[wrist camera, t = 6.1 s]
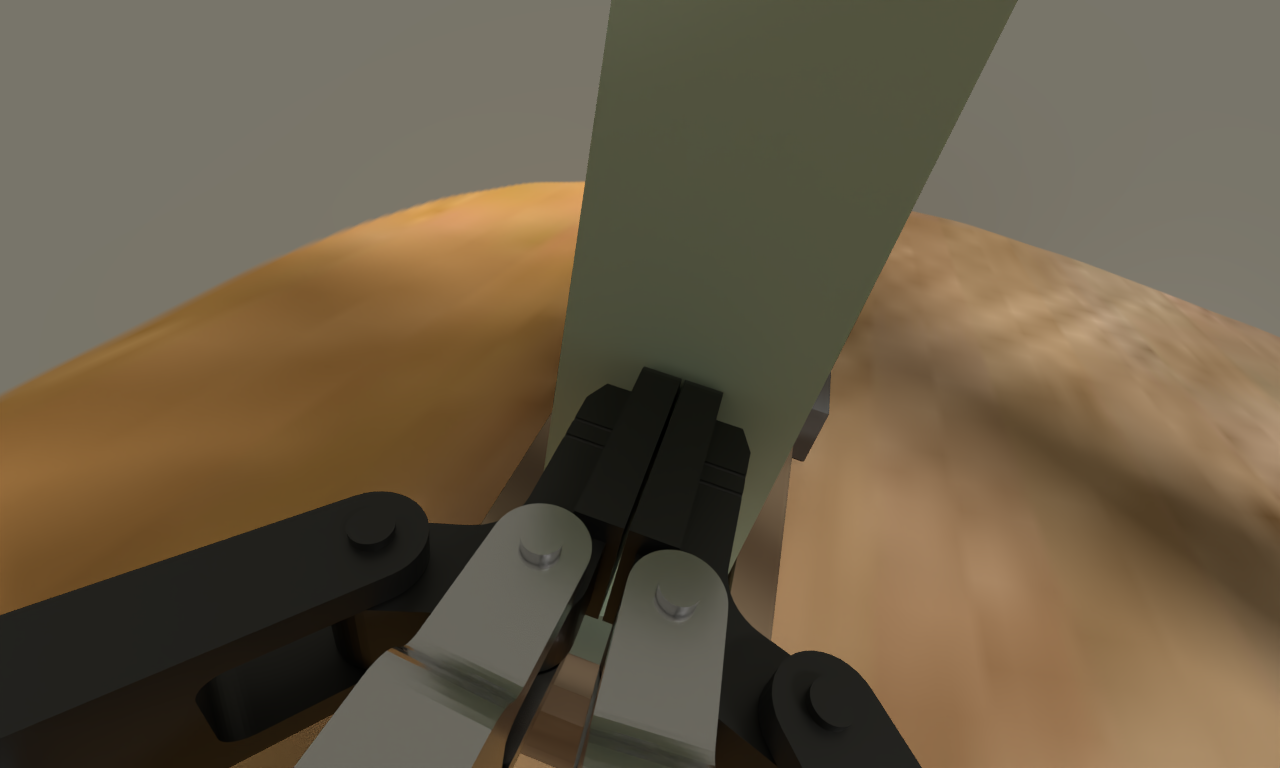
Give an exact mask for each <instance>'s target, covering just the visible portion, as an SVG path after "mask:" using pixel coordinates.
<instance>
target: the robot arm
mask: <svg viewBox="0 0 1280 768" xmlns="http://www.w3.org/2000/svg"><path fill="white" fill-rule="evenodd" d="M681 381H682V379H681V378H678V377H675V376H672V375H669V374H666V373H663V372H660V371H657V370H654V369H651V368H648V367H645V366H644V367H643V368H642V370H641V372H640V374H639V376H638V379H637V381H636V383H635V385H634V387H633V389H632V391H628V390H626V389H623V388H620V387H617V386H614V385H611V384H608V383H607V384H606V385H604V386H603V387H601V388H599V389H598V390H596V391H595V392H593V393H592V394H590V395H589V396H587V397H586V399H585V400H584V402H583V404H582V406H581V407H580V409H579V411H578V413H577V414H576V416H575V419H574V420H573V421H572V423H571V425H570V427H569V428H568V430H567V432H566V435H565V437H563V439H562V440H561V442H560V444H559V446H558V447H557V449H556V451H555V453H554V454H553V456H552V458H551V460H550V461H549V463H548V465H547V467H546V468H545V470H544V472H543V474H542V475H541V477H540V479H539V481H538V482H537V484H536V486H535V487H534V489H533V491H532V493H531V494H530V496H529V498H528V499H527V501H526V502H525V503H524V504H523V505H522V506H521V507H518V508H515V509H513V510H512V511H510V512H508V513H507V514H505V515H504V516H503V517H502V518H501V519H500V520H498V521H496V522H492V523H488V524H482V525H455V524H438V523H428V519H427V516H426V514H425V512H424V511H423V509H422V508H421V507H420V506H419V505H418V504H417V503H416V502H415V501H413V500H412V499H410V498H408V497H406V496H403V495H401V494H397V493H393V492H369V493H363V494H360V495H356V496H353V497H350V498H347V499H344V500H341V501H338V502H335V503H332V504H329V505H326V506H323V507H320V508H317V509H314V510H311V511H308V512H305V513H302V514H299V515H296V516H293V517H290V518H287V519H285V520H282V521H279V522H276V523H273V524H270V525H267V526H264V527H261V528H258V529H255V530H252V531H249V532H246V533H243V534H240V535H237V536H234V537H231V538H228V539H225V540H222V541H219V542H216V543H213V544H210V545H207V546H204V547H201V548H198V549H195V550H193V551H190V552H187V553H184V554H181V555H178V556H175V557H172V558H169V559H166V560H163V561H160V562H157V563H154V564H151V565H148V566H145V567H142V568H139V569H136V570H133V571H130V572H127V573H124V574H121V575H118V576H115V577H112V578H109V579H106V580H103V581H100V582H98V583H95V584H92V585H89V586H86V587H83V588H80V589H77V590H74V591H71V592H68V593H65V594H62V595H59V596H56V597H53V598H50V599H47V600H44V601H41V602H38V603H35V604H32V605H29V606H26V607H23V608H20V609H17V610H14V611H11V612H8V613H6V614H3V615H0V768H229V767H231V766H233V765H235V764H237V763H239V762H241V761H243V760H245V759H247V758H249V757H251V756H253V755H255V754H257V753H258V752H260V751H262V750H264V749H266V748H268V747H270V746H272V745H274V744H276V743H278V742H280V741H282V740H284V739H286V738H287V737H289V736H291V735H293V734H295V733H297V732H299V731H301V730H303V729H305V728H307V727H309V726H311V725H313V724H315V723H317V722H318V721H320V720H322V719H324V718H326V717H328V716H330V715H332V714H334V715H333V716H332V717H331V719H330V720H329V721H328V723H327V724H326V725H325V727H324V728H323V729H322V731H321V732H320V733H319V735H318V736H317V737H316V739H315V740H314V741H313V743H312V744H311V745H310V747H309V748H308V749H307V751H306V752H305V753H304V755H303V756H302V757H301V759H300V760H299V761H298V763H297V764H296V765H295V766H294V768H513V767H514V765H515V763H516V761H517V759H518V757H519V754H520V752H521V750H522V748H523V746H524V744H525V742H526V740H527V738H528V736H529V734H530V732H531V730H532V728H533V726H534V723H535V721H536V719H537V717H538V715H539V713H540V711H541V709H542V707H543V705H544V703H545V701H546V699H547V697H548V695H549V693H550V690H551V688H552V686H553V684H554V682H555V680H556V678H557V676H558V674H559V672H560V670H561V668H562V666H563V664H564V661H565V658H566V656H567V654H568V653H569V652H570V650H571V648H572V646H573V644H574V641H575V639H576V636H577V634H578V631H579V629H580V626H581V624H582V621H583V618H584V616H585V615H587V616H590V617H593V618H595V619H598V618H599V615H600V613H601V610H602V607H603V604H604V602H605V599H606V596H607V594H608V591H609V588H610V586H611V583H612V580H613V577H614V575H615V572H616V569H617V567H618V569H617V572H616V576H615V579H614V582H613V586H612V589H611V593H610V596H609V599H608V603H607V606H606V609H605V613H604V616H603V619H602V621H604V622H607V623H610V624H612V628H611V631H610V634H609V638H608V641H607V644H606V647H605V650H604V653H603V656H602V660H601V663H600V666H599V669H598V672H597V675H596V679H595V682H594V686H593V690H592V694H591V698H590V702H589V705H588V709H587V713H586V717H585V721H584V725H583V728H582V732H581V736H580V740H579V744H578V748H577V751H576V755H575V759H574V763H573V767H572V768H922V767H921V766H920V764H919V763H918V761H917V759H916V758H915V756H914V755H913V753H912V752H911V750H910V749H909V747H908V745H907V744H906V742H905V741H904V739H903V738H902V736H901V734H900V733H899V731H898V730H897V728H896V727H895V725H894V724H893V722H892V720H891V719H890V717H889V716H888V714H887V713H886V711H885V709H884V708H883V706H882V705H881V703H880V702H879V700H878V699H877V697H876V695H875V694H874V692H873V691H872V689H871V688H870V686H869V685H868V684H867V682H866V681H865V680H864V679H863V678H862V676H861V675H860V674H859V673H858V672H857V671H856V670H854V669H853V668H852V667H851V666H850V665H848V664H847V663H845V662H844V661H842V660H841V659H839V658H837V657H835V656H833V655H830V654H827V653H824V652H819V651H802V652H798V653H795V654H793V655H789V654H788V653H787V652H785V651H784V650H783V649H781V648H780V647H779V646H777V645H776V644H774V643H773V642H772V641H770V640H769V639H768V638H766V637H765V636H764V635H762V634H761V633H760V632H758V631H757V630H756V629H755V628H754V627H752V626H751V624H750V623H749V622H748V621H747V620H746V619H745V618H744V617H743V615H742V614H741V613H740V611H739V610H738V608H737V606H736V604H735V603H734V601H733V598H732V596H731V593H730V589H729V585H728V569H729V563H730V558H731V553H732V548H733V543H734V537H735V532H736V527H737V522H738V516H739V511H740V506H741V501H742V495H743V490H744V485H745V480H746V479H745V478H746V475H747V469H748V464H749V459H750V454H751V452H750V449H749V446H748V442H747V439H746V436H745V433H744V430H743V429H742V428H739V427H736V426H733V425H730V424H727V423H724V422H721V421H718V420H716V419H717V415H718V411H719V408H720V404H721V400H722V397H723V392H721V391H718V390H715V389H712V388H709V387H706V386H703V385H700V384H697V383H694V382H691V381H688V380H685V382H684V384H683V387H682V390H681V392H680V395H679V398H678V400H677V403H676V406H675V408H674V411H673V414H672V410H673V407H674V404H675V401H676V398H677V394H678V391H679V388H680V384H681ZM671 414H672V416H671ZM670 417H671V419H670ZM669 420H670V422H669ZM668 423H669V424H668ZM620 558H621V559H620ZM619 561H620V562H619ZM618 564H619V566H618Z"/></svg>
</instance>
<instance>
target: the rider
mask: <svg viewBox="0 0 1280 768" xmlns="http://www.w3.org/2000/svg"><path fill="white" fill-rule="evenodd" d="M1017 1H1018V0H611V8H610V14H609V21H608V28H607V35H606V42H605V49H604V56H603V63H602V70H601V77H600V84H599V91H598V97H597V104H596V111H595V118H594V125H593V132H592V140H591V146H590V153H589V160H588V168H587V174H586V181H585V188H584V195H583V201H582V208H581V215H580V222H579V229H578V236H577V243H576V250H575V257H574V264H573V271H572V278H571V285H570V292H569V299H568V306H567V312H566V319H565V326H564V333H563V340H562V347H561V354H560V361H559V368H558V375H557V382H556V389H555V396H554V403H553V410H552V417H551V424H550V430H549V437H548V444H547V451H546V458H545V465H544V470H545V468H546V467H547V465H548V463H549V461H550V460H551V458H552V456H553V454H554V453H555V451H556V449H557V447H558V446H559V444H560V442H561V440H562V439H563V437H565V435H566V432H567V430H568V428H569V427H570V425H571V423H572V421H573V420H574V419H575V416H576V414H577V413H578V411H579V409H580V407H581V406H582V404H583V402H584V400H585V399H586V397H587V396H589V395H590V394H592V393H593V392H595V391H596V390H598V389H599V388H601V387H603V386H604V385H606V384H607V383H608V384H611V385H614V386H617V387H620V388H623V389H626V390H628V391H632V389H633V387H634V385H635V383H636V381H637V379H638V376H639V374H640V372H641V370H642V368H643V367H644V366H645V367H648V368H651V369H654V370H657V371H660V372H663V373H666V374H669V375H672V376H675V377H678V378H681V379H682V381H681V384H680V388H679V391H678V394H677V398H676V401H675V404H674V407H673V410H672V414H673V411H674V408H675V406H676V403H677V400H678V398H679V395H680V392H681V390H682V387H683V384H684V382H685V380H688V381H691V382H694V383H697V384H700V385H703V386H706V387H709V388H712V389H715V390H718V391H721V392H723V397H722V400H721V404H720V408H719V411H718V415H717V419H716V420H718V421H721V422H724V423H727V424H730V425H733V426H736V427H739V428H742V429H743V430H744V433H745V436H746V439H747V442H748V446H749V449H750V452H751V454H750V459H749V464H748V469H747V475H746V478H745V479H746V480H745V485H744V490H743V495H742V501H741V506H740V511H739V516H738V522H737V527H736V532H735V537H734V543H733V548H732V553H731V558H730V563H729V569H728V574H729V572H730V570H731V568H732V566H733V564H734V562H735V560H736V558H737V556H738V554H739V552H740V550H741V548H742V546H743V544H744V542H745V540H746V538H747V536H748V534H749V532H750V530H751V528H752V526H753V524H754V522H755V520H756V518H757V516H758V514H759V512H760V510H761V508H762V506H763V505H764V503H765V501H766V499H767V497H768V495H769V493H770V491H771V489H772V487H773V485H774V483H775V481H776V479H777V477H778V475H779V473H780V471H781V469H782V467H783V465H784V463H785V461H786V459H787V457H788V455H789V453H790V451H791V449H792V447H793V445H794V443H795V441H796V439H797V437H798V435H799V433H800V431H801V429H802V427H803V425H804V423H805V421H806V419H807V417H808V415H809V413H810V411H811V409H812V407H813V405H814V403H815V401H816V399H817V397H818V395H819V393H820V391H821V389H822V388H823V386H824V384H825V382H826V380H827V378H828V376H829V374H830V372H831V370H832V368H833V366H834V364H835V362H836V360H837V358H838V356H839V354H840V352H841V350H842V348H843V346H844V344H845V342H846V340H847V338H848V336H849V334H850V332H851V330H852V328H853V326H854V324H855V322H856V320H857V318H858V316H859V314H860V312H861V310H862V308H863V306H864V304H865V302H866V300H867V298H868V296H869V294H870V292H871V290H872V288H873V286H874V284H875V282H876V280H877V278H878V276H879V274H880V272H881V270H882V269H883V267H884V265H885V263H886V261H887V259H888V257H889V255H890V253H891V251H892V249H893V247H894V245H895V243H896V241H897V239H898V237H899V235H900V233H901V231H902V229H903V227H904V225H905V223H906V221H907V219H908V217H909V215H910V213H911V211H912V209H913V207H914V205H915V203H916V201H917V199H918V197H919V195H920V193H921V191H922V189H923V187H924V185H925V183H926V181H927V179H928V177H929V175H930V173H931V171H932V169H933V167H934V165H935V163H936V161H937V159H938V157H939V155H940V153H941V151H942V150H943V147H944V146H945V144H946V142H947V139H948V138H949V136H950V134H951V132H952V129H953V128H954V126H955V124H956V122H957V120H958V118H959V115H960V114H961V112H962V110H963V108H964V106H965V104H966V102H967V100H968V98H969V96H970V94H971V92H972V90H973V88H974V86H975V84H976V82H977V80H978V78H979V76H980V74H981V72H982V70H983V68H984V66H985V64H986V62H987V60H988V58H989V56H990V54H991V52H992V50H993V48H994V46H995V44H996V42H997V40H998V38H999V36H1000V34H1001V32H1002V31H1003V29H1004V26H1005V25H1006V23H1007V20H1008V19H1009V16H1010V15H1011V13H1012V11H1013V9H1014V7H1015V5H1016V3H1017ZM672 414H671V416H672ZM670 419H671V417H670ZM669 422H670V420H669ZM668 424H669V423H668ZM620 559H621V558H620ZM619 562H620V561H619ZM618 566H619V564H618ZM617 569H618V567H617ZM617 569H616V572H617ZM616 572H615V575H614V577H613V580H612V583H611V586H610V588H609V591H608V594H607V596H606V599H605V602H604V604H603V607H602V610H601V613H600V615H599V618H598V619H595V618H593V617H590V616H587V615H585V616H584V618H583V621H582V624H581V626H580V629H579V631H578V634H577V636H576V639H575V641H574V644H573V646H572V648H571V650H570V652H569V653H570V654H573V655H575V656H578V657H580V658H583V659H586V660H588V661H591V662H593V663H596V664H598V665H600V663H601V660H602V656H603V653H604V650H605V647H606V644H607V641H608V638H609V634H610V631H611V628H612V624H610V623H607V622H604V621H602V619H603V616H604V613H605V609H606V606H607V603H608V599H609V596H610V593H611V589H612V586H613V582H614V579H615V576H616Z"/></svg>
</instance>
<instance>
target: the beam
mask: <svg viewBox="0 0 1280 768" xmlns="http://www.w3.org/2000/svg"><path fill="white" fill-rule="evenodd" d="M830 379H831V372H830V374H829V376H828V378H827V380H826V382H825V384H824V386H823V388H822V389H821V391H820V393H819V395H818V397H817V399H816V401H815V403H814V405H813V407H812V409H811V411H810V413H809V415H808V417H807V419H806V421H805V423H804V425H803V427H802V429H801V431H800V433H799V435H798V437H797V439H796V441H795V443H794V445H793V447H792V449H791V451H790V453H789V455H788V457H787V459H786V461H785V463H784V465H783V467H782V469H781V471H780V473H779V475H778V477H777V479H776V481H775V483H774V485H773V487H772V489H771V491H770V493H769V495H768V497H767V499H766V501H765V503H764V505H763V506H762V508H761V510H760V512H759V514H758V516H757V518H756V520H755V522H754V524H753V526H752V528H751V530H750V532H749V534H748V536H747V538H746V540H745V542H744V544H743V546H742V548H741V550H740V552H739V554H738V556H737V558H736V560H735V562H734V564H733V566H732V568H731V570H730V572H729V574H728V585H729V589H730V593H731V596H732V598H733V601H734V603H735V604H736V606H737V608H738V610H739V611H740V613H741V614H742V615H743V617H744V618H745V619H746V620H747V621H748V622H749V623H750V624H751V626H752V627H754V628H755V629H756V630H757V631H758V632H760V633H761V634H762V635H764V636H765V637H766V638H768V639H769V640H770V641H771V636H772V627H773V619H774V610H775V601H776V592H777V584H778V575H779V566H780V557H781V548H782V540H783V531H784V522H785V513H786V505H787V496H788V487H789V478H790V469H791V461H792V458H795V459H798V460H801V461H804V460H805V458H806V456H807V454H808V453H809V451H810V449H811V447H812V445H813V443H814V441H815V439H816V438H817V436H818V434H819V432H820V430H821V428H822V426H823V424H824V423H825V421H826V419H827V417H828V415H829V401H830ZM551 417H552V413H551V415H550V416H549V418H548V419H547V421H546V423H545V424H544V426H543V427H542V429H541V430H540V432H539V434H538V435H537V437H536V438H535V440H534V441H533V443H532V445H531V446H530V448H529V449H528V451H527V452H526V454H525V456H524V457H523V459H522V460H521V462H520V463H519V465H518V467H517V468H516V470H515V471H514V473H513V474H512V476H511V478H510V479H509V481H508V482H507V484H506V486H505V487H504V489H503V490H502V492H501V493H500V495H499V497H498V498H497V500H496V501H495V503H494V504H493V506H492V508H491V509H490V511H489V512H488V514H487V515H486V517H485V519H484V520H483V522H482V523H481V525H482V524H488V523H492V522H496V521H498V520H500V519H501V518H502V517H503V516H504V515H505V514H507V513H508V512H510V511H512V510H513V509H515V508H518V507H521V506H522V505H523V504H524V503H525V502H526V501H527V499H528V498H529V496H530V494H531V493H532V491H533V489H534V487H535V486H536V484H537V482H538V481H539V479H540V477H541V475H542V474H543V472H544V465H545V458H546V451H547V444H548V437H549V430H550V424H551ZM599 666H600V665H598V664H596V663H593V662H591V661H588V660H586V659H583V658H580V657H578V656H575V655H573V654H570V653H568V654H567V656H566V658H565V661H564V664H563V666H562V668H561V670H560V672H559V674H558V676H557V678H556V680H555V682H554V684H553V686H552V688H551V690H550V693H549V695H548V697H547V699H546V701H545V703H544V705H543V707H542V709H541V711H540V713H539V715H538V717H537V719H536V721H535V723H534V726H533V728H532V730H531V732H530V734H529V736H528V738H527V740H526V742H525V744H524V746H523V748H522V750H521V752H520V753H521V754H524V755H526V756H529V757H531V758H534V759H536V760H539V761H541V762H544V763H546V764H548V765H551V766H553V767H556V768H572V767H573V763H574V759H575V755H576V751H577V748H578V744H579V740H580V736H581V732H582V728H583V725H584V721H585V717H586V713H587V709H588V705H589V702H590V698H591V694H592V690H593V686H594V682H595V679H596V675H597V672H598V669H599Z"/></svg>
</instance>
